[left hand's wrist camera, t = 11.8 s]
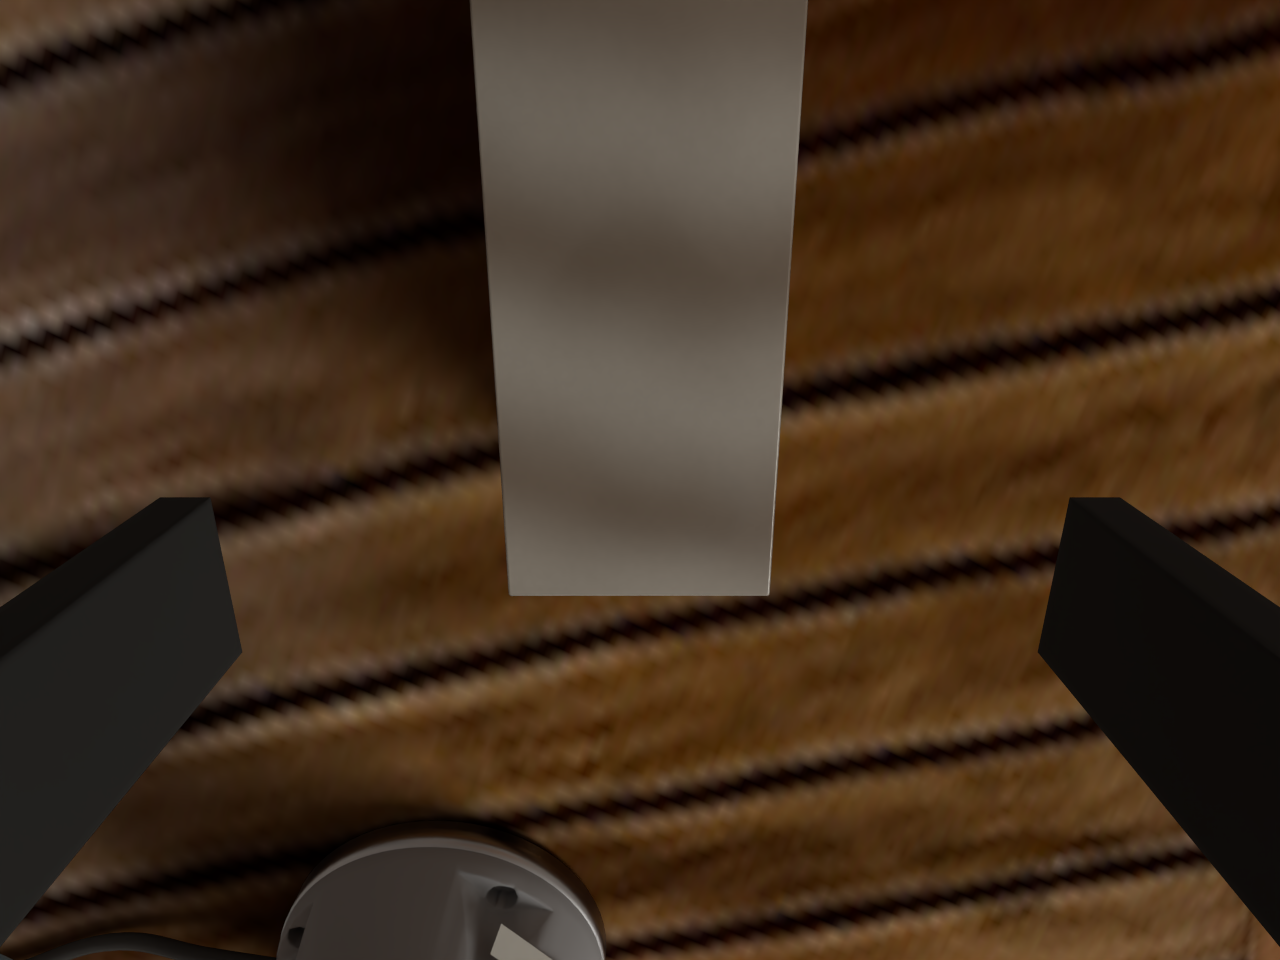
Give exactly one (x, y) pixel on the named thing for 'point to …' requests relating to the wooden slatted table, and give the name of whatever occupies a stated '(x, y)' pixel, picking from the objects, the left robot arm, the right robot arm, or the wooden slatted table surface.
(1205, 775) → the left robot arm
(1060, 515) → the wooden slatted table surface
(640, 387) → the cabinet
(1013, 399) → the wooden slatted table surface
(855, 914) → the wooden slatted table surface
